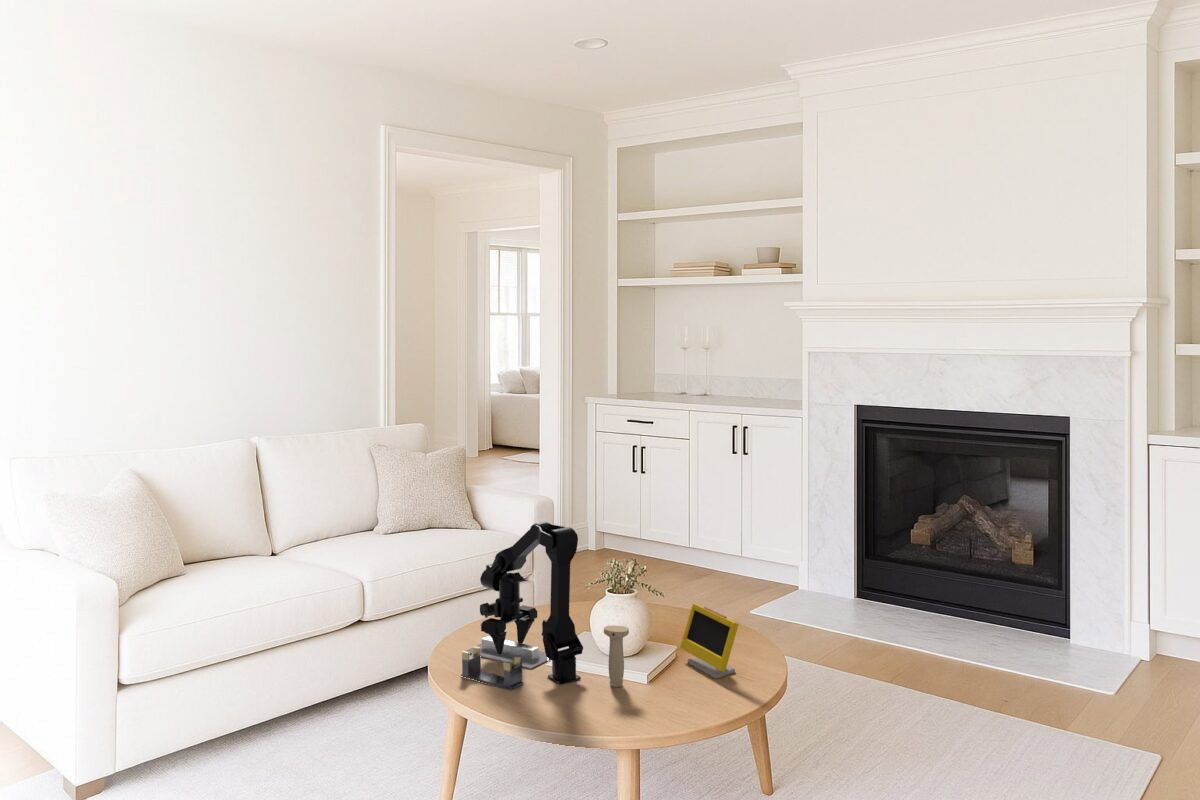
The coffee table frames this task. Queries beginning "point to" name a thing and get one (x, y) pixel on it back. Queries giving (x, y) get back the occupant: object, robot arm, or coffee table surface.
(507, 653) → the rail
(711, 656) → the yellow framed monitor
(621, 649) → the handle
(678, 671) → the coffee table surface
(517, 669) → the grey stand
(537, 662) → the mat
